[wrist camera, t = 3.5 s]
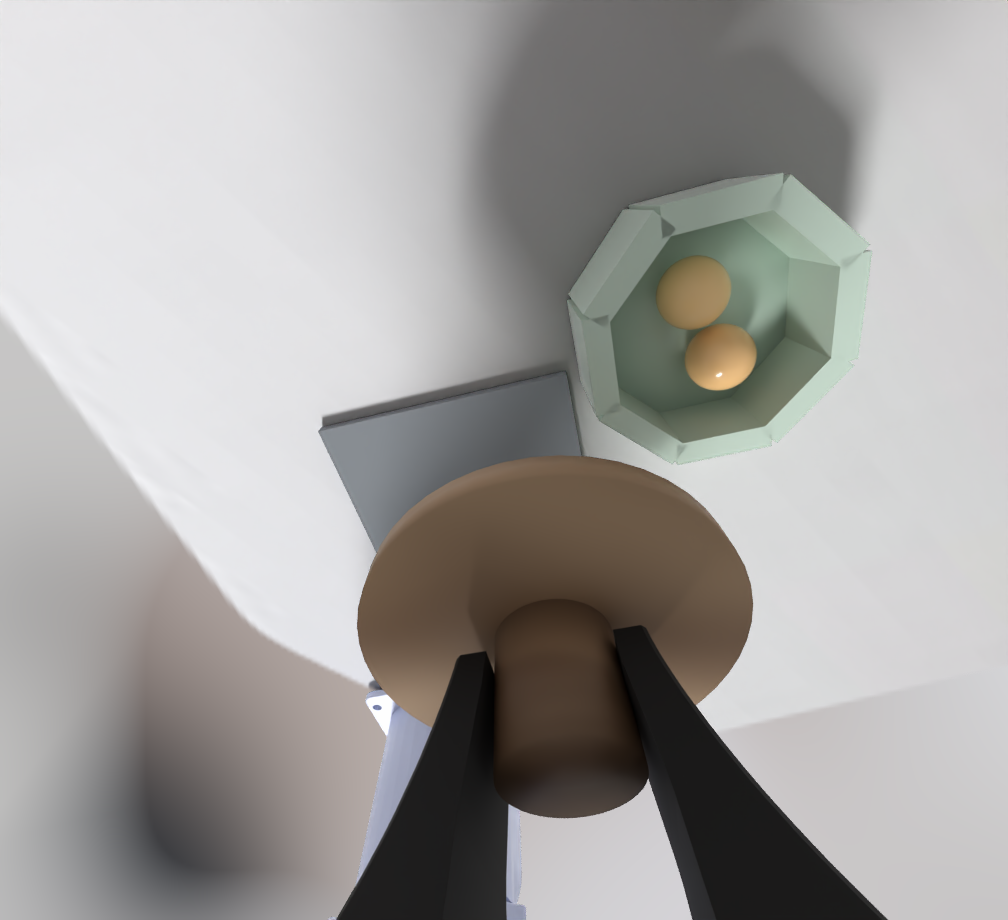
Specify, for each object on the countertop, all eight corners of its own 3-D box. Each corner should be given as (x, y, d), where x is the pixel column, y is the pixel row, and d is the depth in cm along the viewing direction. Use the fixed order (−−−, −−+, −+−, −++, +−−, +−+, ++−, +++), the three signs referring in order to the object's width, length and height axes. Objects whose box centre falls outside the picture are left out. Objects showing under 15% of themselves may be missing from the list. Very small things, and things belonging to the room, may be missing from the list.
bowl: (791, 393, 18) (848, 430, 15) (589, 436, 19) (606, 479, 16) (806, 157, 14) (886, 145, 11) (554, 224, 15) (567, 229, 12)
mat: (600, 565, 22) (602, 571, 22) (404, 601, 24) (403, 607, 23) (565, 370, 18) (566, 374, 17) (321, 427, 19) (318, 431, 18)
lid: (719, 709, 14) (791, 872, 10) (413, 737, 14) (387, 901, 11) (760, 428, 9) (907, 554, 6) (313, 484, 10) (217, 629, 6)
